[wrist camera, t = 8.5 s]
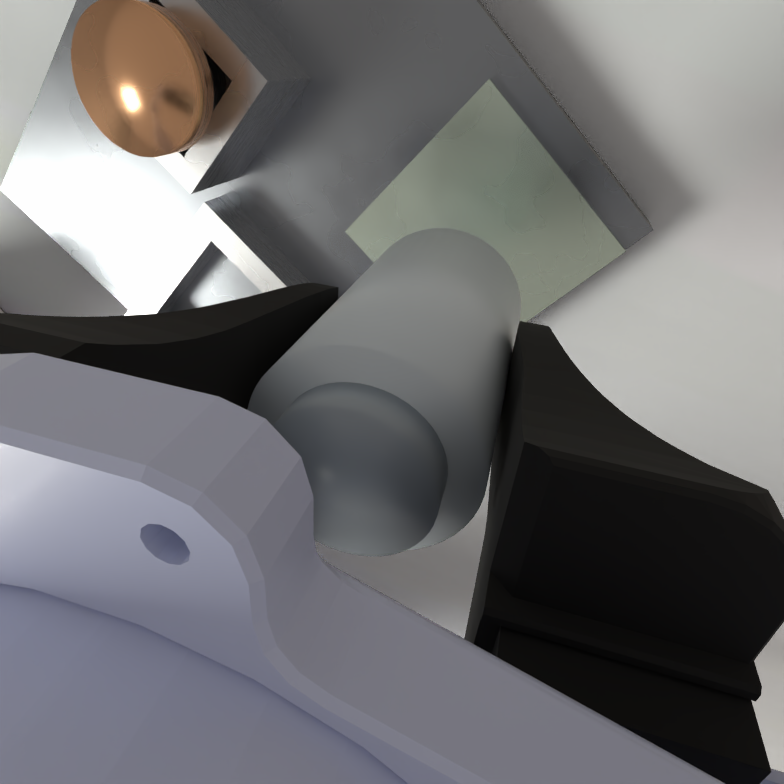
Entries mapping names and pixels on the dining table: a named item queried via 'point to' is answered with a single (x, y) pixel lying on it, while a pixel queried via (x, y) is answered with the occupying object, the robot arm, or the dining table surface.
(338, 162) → the housing
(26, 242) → the dining table surface
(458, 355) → the cylinder
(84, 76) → the plunger
